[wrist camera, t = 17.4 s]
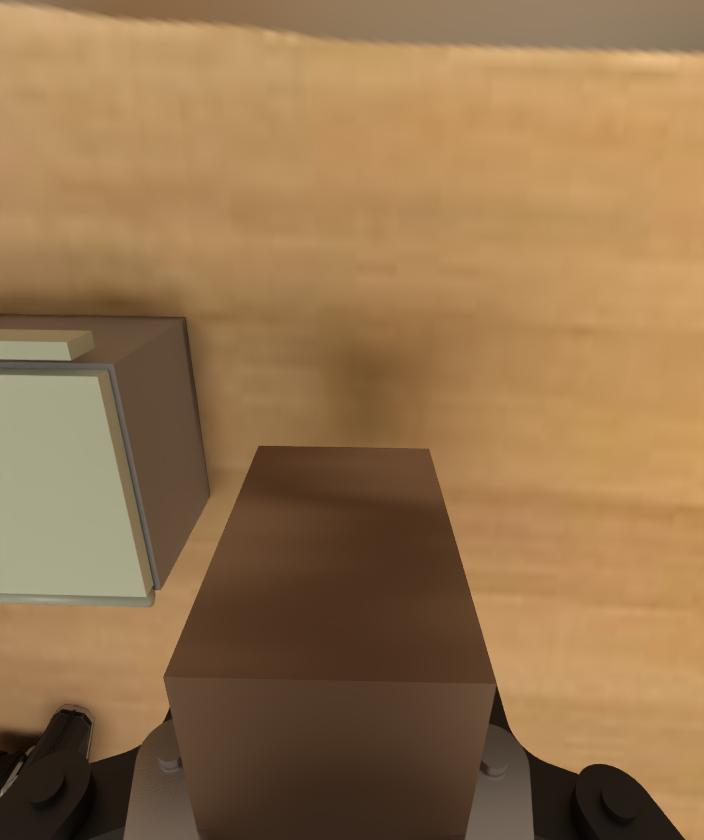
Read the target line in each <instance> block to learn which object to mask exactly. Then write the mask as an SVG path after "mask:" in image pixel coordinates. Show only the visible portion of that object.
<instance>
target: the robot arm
mask: <svg viewBox="0 0 704 840" xmlns="http://www.w3.org/2000/svg"><path fill="white" fill-rule="evenodd" d="M0 840H210V836H209V831H208V829H197V828H196V823H195V819H194V814H193V809H192V805H191V800H190V796H189V791H188V787H187V782H186V778H185V773H184V768H183V764H182V759H181V755H180V750H179V746H178V741H177V737H176V732H175V728H174V723H173V718H172V714H171V709H170V708H169V711H168V713H167V715H166V718H165V720H164V721H163V723H162V724H161V725H159V726H158V727H156V728H155V729H154V730H153V731H152V732H151V733H150V734H149V735H148V736H147V737H146V739H145V740H144V741H143V743H142V744H141V745H139V746H138V747H136V748H134V749H132V750H130V751H128V752H125V753H122V754H119V755H116V756H113V757H109V758H106V759H103V760H100V761H97V762H93V763H90V764H89V762H88V760H87V759H86V757H85V756H84V755H82V754H81V753H79V752H76V751H70V750H66V751H59V752H55V753H52V754H50V755H47V756H45V757H43V758H42V759H40V760H38V761H37V762H35V763H34V764H33V765H31V766H30V767H29V768H28V769H26V770H25V771H24V772H23V773H22V774H21V775H20V776H19V778H18V779H17V780H16V781H15V782H14V783H13V784H12V785H11V786H10V787H9V788H8V790H7V791H6V792H5V793H4V794H3V795H2V796H1V797H0ZM449 840H685V839H684V838H683V836H682V835H681V834H680V833H679V831H678V830H677V829H676V828H675V826H674V825H673V824H672V823H671V821H670V820H669V819H668V818H667V816H666V815H665V814H664V813H663V811H662V810H661V809H660V808H659V806H658V805H657V804H656V803H655V801H654V800H653V799H652V798H651V796H650V795H649V794H648V793H647V791H646V790H645V789H644V788H643V787H642V786H641V785H640V784H639V783H638V782H637V781H636V780H635V779H634V778H632V777H631V776H630V775H628V774H627V773H625V772H623V771H622V770H620V769H618V768H615V767H613V766H609V765H605V764H593V765H590V766H588V767H586V768H584V769H583V770H582V771H581V772H580V774H576V773H573V772H571V771H568V770H565V769H562V768H560V767H557V766H554V765H551V764H549V763H546V762H544V761H542V760H540V759H538V758H537V757H535V756H533V755H532V754H531V753H529V752H528V751H527V750H526V749H525V748H524V747H523V746H522V745H521V744H520V743H519V742H518V741H517V739H516V738H515V736H514V735H513V733H512V731H511V729H510V728H509V725H508V722H507V719H506V715H505V712H504V708H503V705H502V701H501V698H500V694H499V691H498V687H497V685H496V690H495V695H494V700H493V705H492V710H491V714H490V719H489V724H488V729H487V734H486V739H485V744H484V749H483V754H482V758H481V763H480V768H479V773H478V778H477V783H476V788H475V793H474V798H473V803H472V807H471V812H470V817H469V822H468V827H467V832H466V835H450V839H449Z"/></svg>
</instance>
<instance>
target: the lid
mask: <svg viewBox="0 0 704 840" xmlns="http://www.w3.org/2000/svg"><path fill="white" fill-rule="evenodd" d="M94 348H95V344H94V339H93V335H92V331H79V330H17V329H0V359H14V360H73V359H75V358H77V357H79V356H81V355H82V354H84V353H86V352H88V351H90V350H92V349H94ZM153 585H154V584H153V579H152V575H151V570H150V565H149V560H148V556H147V551H146V546H145V542H144V537H143V532H142V527H141V523H140V518H139V513H138V508H137V504H136V499H135V494H134V490H133V485H132V480H131V475H130V471H129V466H128V461H127V456H126V452H125V447H124V442H123V438H122V433H121V428H120V423H119V419H118V414H117V409H116V405H115V400H114V395H113V390H112V386H111V381H110V376H109V371H108V370H86V369H30V368H0V603H13V604H50V605H87V606H123V607H152V606H153V604H154V601H155V590H154V589H151V588H152V587H153Z"/></svg>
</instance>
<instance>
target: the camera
mask: <svg viewBox="0 0 704 840" xmlns="http://www.w3.org/2000/svg"><path fill="white" fill-rule="evenodd" d="M93 724H94V716H93V715H92V714H91V713H90V712H89V711H88V710H87V709H85V708H80V707H76V706H71V705H66V704H65V705H64V706H62V707H61V708H60V709H58V710H57V712H56V714H55V715H54V716H53V717H52V719H51V722H50V723H49V725H48V727H47V728H46V730H45V732H44V733H43V735H42V737H41V738H40V740H39V742H38V743H37V745H36V746H32V747H31V748H29V750H28V751H27V752H26V753H24V752H16V753H15V754H11V755H8V753H7V752H5V751H0V797H1V796H2V795H3V794H4V793H5V792H6V791H7V790H8V788H9V787H10V786H11V785H12V784H13V783H14V782H15V781H16V780H17V779H18V778H19V776H20V775H21V774H22V773H23V772H24V771H25V770H26V769H28V768H29V767H30V766H31V765H33V764H34V763H35V762H37V761H38V760H40V759H42V758H43V757H45V756H47V755H50V754H52V753H55V752H59V751H66V750H70V751H76V752H79V753H81V754H82V755H84V756H85V757H86V759H88V753H89V747H90V741H91V735H92V729H93Z"/></svg>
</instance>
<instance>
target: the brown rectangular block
mask: <svg viewBox="0 0 704 840" xmlns="http://www.w3.org/2000/svg"><path fill="white" fill-rule="evenodd" d="M163 678H164V682H165V687H166V691H167V696H168V700H169V705H170V709H171V714H172V718H173V723H174V728H175V732H176V737H177V741H178V746H179V750H180V755H181V759H182V764H183V768H184V773H185V778H186V782H187V787H188V791H189V796H190V800H191V805H192V809H193V814H194V819H195V823H196V828H197V829H208V831H209V836H210V840H449V839H450V835H466V832H467V827H468V822H469V817H470V812H471V807H472V803H473V798H474V793H475V788H476V783H477V778H478V773H479V768H480V763H481V758H482V754H483V749H484V744H485V739H486V734H487V729H488V724H489V719H490V714H491V710H492V705H493V700H494V695H495V690H496V685H497V683H496V679H495V676H494V673H493V669H492V666H491V662H490V659H489V655H488V652H487V648H486V645H485V641H484V638H483V634H482V631H481V627H480V624H479V621H478V617H477V614H476V610H475V607H474V603H473V600H472V596H471V593H470V589H469V586H468V582H467V579H466V575H465V572H464V569H463V565H462V562H461V558H460V555H459V551H458V548H457V544H456V541H455V537H454V534H453V530H452V527H451V523H450V520H449V517H448V513H447V510H446V506H445V503H444V499H443V496H442V492H441V489H440V485H439V482H438V478H437V475H436V471H435V468H434V465H433V461H432V458H431V454H430V451H429V449H407V448H350V447H292V446H258V449H257V451H256V454H255V456H254V459H253V461H252V463H251V466H250V468H249V471H248V473H247V476H246V478H245V480H244V483H243V485H242V488H241V490H240V493H239V495H238V497H237V500H236V502H235V505H234V507H233V510H232V512H231V514H230V517H229V519H228V522H227V524H226V527H225V529H224V531H223V534H222V536H221V539H220V541H219V543H218V546H217V548H216V551H215V553H214V556H213V558H212V560H211V563H210V565H209V568H208V570H207V573H206V575H205V577H204V580H203V582H202V585H201V587H200V590H199V592H198V594H197V597H196V599H195V602H194V604H193V607H192V609H191V611H190V614H189V616H188V619H187V621H186V624H185V626H184V628H183V631H182V633H181V636H180V638H179V641H178V643H177V645H176V648H175V650H174V653H173V655H172V657H171V660H170V662H169V665H168V667H167V670H166V672H165V674H164V677H163Z"/></svg>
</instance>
